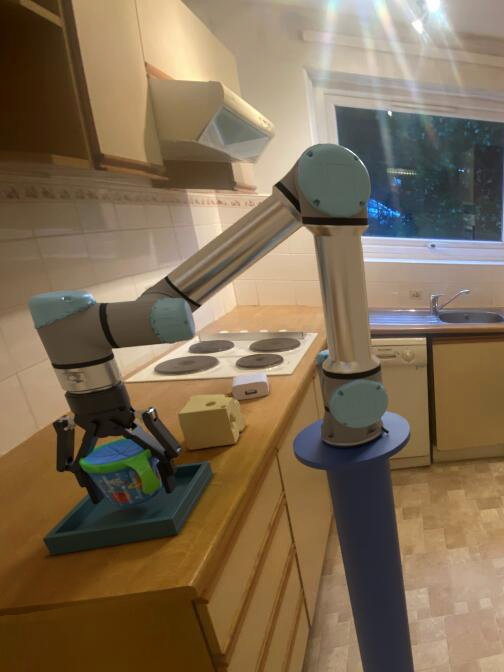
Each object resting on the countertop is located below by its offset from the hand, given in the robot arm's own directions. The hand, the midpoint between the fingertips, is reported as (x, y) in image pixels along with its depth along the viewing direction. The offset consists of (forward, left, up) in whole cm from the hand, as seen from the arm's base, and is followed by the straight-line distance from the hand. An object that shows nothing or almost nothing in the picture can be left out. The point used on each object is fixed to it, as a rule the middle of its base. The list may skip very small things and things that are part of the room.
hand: (136, 494), depth 81 cm
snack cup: (0, 0, -1) cm, 1 cm away
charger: (-5, -59, -4) cm, 59 cm away
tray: (0, 0, -4) cm, 4 cm away
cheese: (-5, -27, -4) cm, 28 cm away
